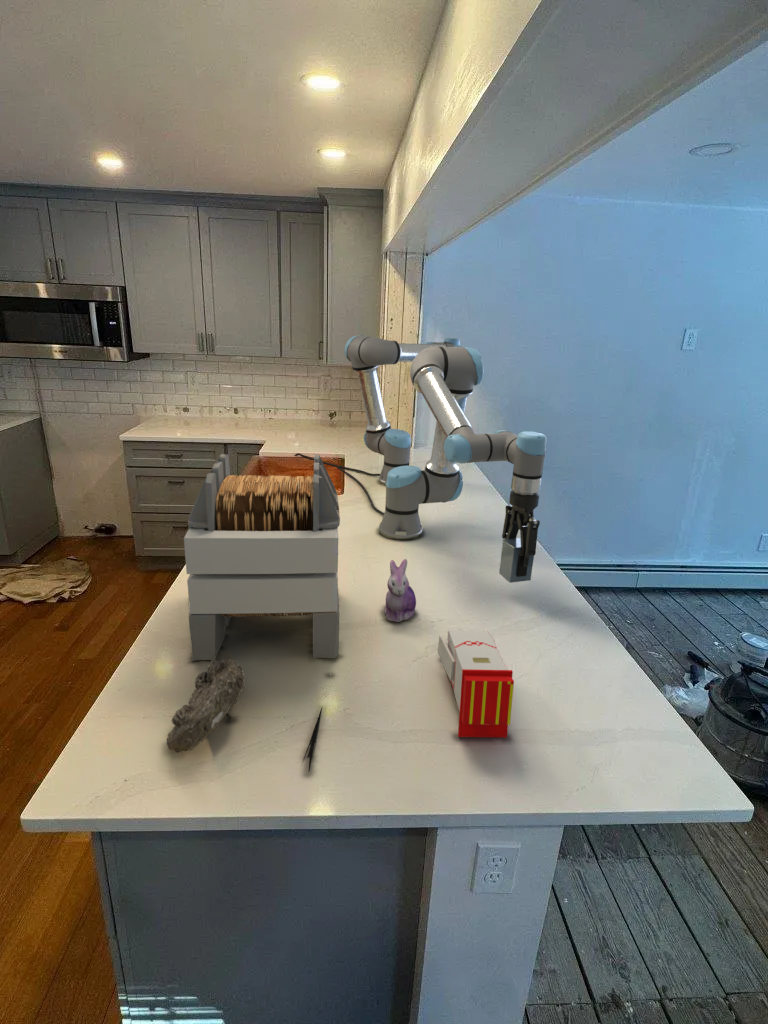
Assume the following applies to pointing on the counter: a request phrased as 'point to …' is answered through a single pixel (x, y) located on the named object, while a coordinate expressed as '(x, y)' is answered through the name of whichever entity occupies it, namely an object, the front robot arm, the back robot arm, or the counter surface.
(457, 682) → the toy
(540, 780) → the counter surface
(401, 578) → the figurine
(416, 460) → the counter surface
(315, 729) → the feather
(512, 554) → the brick
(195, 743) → the fossil
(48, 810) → the counter surface
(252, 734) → the counter surface
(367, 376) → the back robot arm
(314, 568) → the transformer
